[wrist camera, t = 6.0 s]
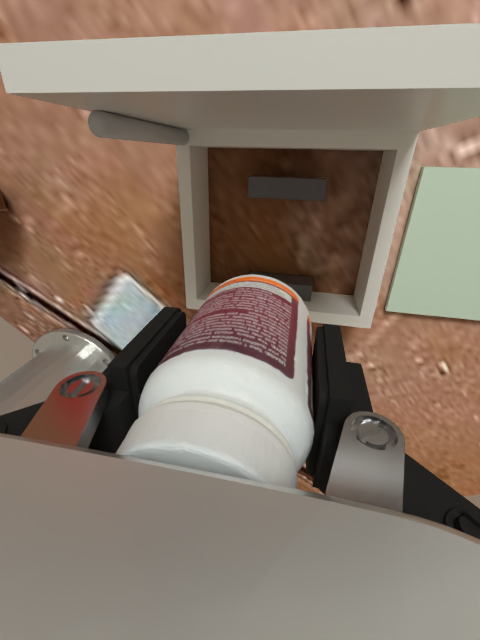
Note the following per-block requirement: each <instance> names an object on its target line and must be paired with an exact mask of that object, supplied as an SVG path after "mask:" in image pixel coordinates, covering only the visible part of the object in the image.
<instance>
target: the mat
mask: <svg viewBox="0 0 480 640" xmlns="http://www.w3.org/2000/svg"><path fill="white" fill-rule="evenodd" d="M385 310H386V311H390V312H400V313H410V314H420V315H430V316H440V317H450V318H460V319H470V320H480V168H451V167H422V168H421V172H420V176H419V179H418V183H417V187H416V191H415V195H414V198H413V202H412V206H411V210H410V214H409V218H408V221H407V225H406V229H405V233H404V237H403V240H402V244H401V248H400V252H399V256H398V259H397V263H396V267H395V271H394V275H393V279H392V282H391V286H390V290H389V294H388V298H387V301H386V305H385Z"/></svg>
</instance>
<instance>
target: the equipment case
mask: <svg viewBox="0 0 480 640" xmlns="http://www.w3.org/2000/svg"><path fill="white" fill-rule="evenodd" d="M0 71H1V75H2V78H3V82H4V86H5V90H6V93H8V94H13V95H18V96H22V97H27V98H32V99H36V100H41V101H46V102H50V103H55V104H60V105H64V106H69V107H74V108H78V109H83V110H88V111H92V112H91V113H90V115H89V118H88V124H89V128H90V130H91V131H92V133H93V134H94V135H96V136H97V137H102V138H112V139H122V140H132V141H142V142H152V143H163V144H173V145H176V151H177V166H178V182H179V198H180V213H181V229H182V245H183V260H184V276H185V291H186V307H187V308H189V309H198V310H199V309H200V307H201V306H202V304H203V303H204V302H205V300H206V299H207V298H208V296H209V295H210V294H211V292H212V291H213V290H214V289H215V288H216V287H218V286H219V285H220V284H222V283H216V282H211V273H210V230H209V187H208V148H257V149H307V150H358V151H383V156H382V161H381V165H380V170H379V175H378V180H377V185H376V190H375V194H374V199H373V204H372V209H371V214H370V219H369V223H368V228H367V233H366V238H365V243H364V248H363V253H362V257H361V262H360V267H359V272H358V277H357V282H356V286H355V291H354V295H343V294H333V293H322V292H312V287H313V277H311V276H299V275H288V274H276V273H265V272H253V271H250V272H249V274H248V275H251V274H255V275H263V276H268V277H272V278H274V279H277V280H279V281H281V282H283V283H285V284H286V285H288V286H289V287H291V288H292V289H293V290H294V291H295V292H296V293H297V294H298V295H299V296H300V297H301V299H302V300H303V302H304V304H305V305H306V307H307V310H308V312H309V315H310V319H311V322H315V323H325V324H334V325H343V326H352V327H361V328H371V324H372V319H373V315H374V311H375V307H376V303H377V299H378V295H379V291H380V287H381V283H382V279H383V275H384V271H385V267H386V263H387V259H388V255H389V251H390V247H391V242H392V238H393V234H394V230H395V226H396V222H397V218H398V214H399V210H400V206H401V202H402V198H403V194H404V190H405V186H406V182H407V178H408V174H409V170H410V165H411V161H412V157H413V153H414V149H415V145H416V141H417V137H418V133H419V131H423V130H427V129H431V128H435V127H439V126H443V125H447V124H451V123H455V122H459V121H463V120H467V119H471V118H475V117H480V23H470V24H446V25H423V26H399V27H376V28H352V29H329V30H306V31H282V32H259V33H235V34H212V35H188V36H165V37H141V38H118V39H95V40H71V41H48V42H24V43H1V44H0ZM326 186H327V178H317V177H288V176H259V175H253V176H250V177H248V197H250V198H272V199H293V200H315V201H324V200H325V193H326Z"/></svg>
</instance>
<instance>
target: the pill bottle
mask: <svg viewBox="0 0 480 640" xmlns="http://www.w3.org/2000/svg"><path fill="white" fill-rule="evenodd" d="M138 414H139V418H138V419H137V420H136V421H135V422H134V423H133V425H132V426H131V428H130V430H129V431H128V433H127V435H126V437H125V439H124V440H123V442H122V444H121V445H120V447H119V448H118V450H117V452H116V453H115V454H119V455H125V456H130V457H135V458H140V459H145V460H150V461H156V462H161V463H166V464H171V465H176V466H181V467H187V468H192V469H197V470H202V471H207V472H212V473H217V474H222V475H228V476H233V477H238V478H243V479H248V480H253V481H258V482H263V483H268V484H273V485H278V486H283V487H288V488H293V489H297V472H298V471H299V470H300V468H301V467H302V466H303V464H304V463H305V461H306V459H307V457H308V455H309V453H310V450H311V447H312V444H313V438H314V429H315V425H314V410H313V364H312V327H311V319H310V315H309V312H308V310H307V307H306V305H305V304H304V302H303V300H302V299H301V297H300V296H299V295H298V294H297V293H296V292H295V291H294V290H293V289H292V288H291V287H289V286H288V285H286V284H285V283H283V282H281V281H279V280H277V279H274V278H272V277H268V276H263V275H255V274H251V275H242V276H238V277H234V278H232V279H229V280H227V281H225V282H223V283H222V284H220V285H219V286H218V287H216V288H215V289H214V290H213V291H212V292H211V294H210V295H209V296H208V298H207V299H206V300H205V302H204V303H203V304H202V306H201V307H200V309H199V310H198V311H197V313H196V314H195V315H194V317H193V318H192V320H191V321H190V323H189V324H188V325H187V327H186V328H185V329H184V330H183V332H182V333H181V335H180V336H179V337H178V339H177V340H176V341H175V343H174V344H173V346H172V347H171V348H170V350H169V351H168V352H167V354H166V355H165V357H164V358H163V359H162V361H161V362H160V363H159V365H158V366H157V367H156V368H155V369H154V370H153V372H152V373H151V375H150V376H149V378H148V380H147V382H146V384H145V386H144V389H143V391H142V393H141V397H140V402H139V409H138Z"/></svg>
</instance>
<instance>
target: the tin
mask: <svg viewBox="0 0 480 640" xmlns="http://www.w3.org/2000/svg"><path fill="white" fill-rule="evenodd" d="M7 211H8V209H7V208H6V205H5V202H4V199H3V196H2V193H1V190H0V212H7Z"/></svg>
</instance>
